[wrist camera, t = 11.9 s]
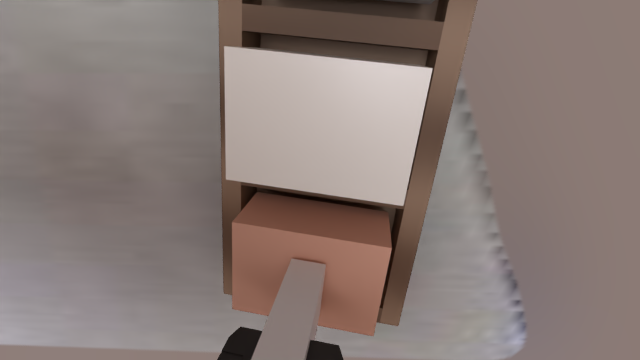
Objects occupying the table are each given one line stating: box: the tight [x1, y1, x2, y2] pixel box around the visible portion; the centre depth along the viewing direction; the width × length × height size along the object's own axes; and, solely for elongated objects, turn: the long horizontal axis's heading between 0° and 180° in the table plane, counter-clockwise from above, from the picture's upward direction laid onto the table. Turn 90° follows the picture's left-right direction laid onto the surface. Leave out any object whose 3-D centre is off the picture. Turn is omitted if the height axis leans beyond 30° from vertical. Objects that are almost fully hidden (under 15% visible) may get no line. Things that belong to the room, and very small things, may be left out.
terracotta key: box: [232, 192, 392, 336], centre depth 16 cm, size 5×7×3 cm
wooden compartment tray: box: [218, 0, 477, 326], centre depth 16 cm, size 22×10×3 cm, turn 174°
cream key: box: [224, 46, 433, 206], centre depth 13 cm, size 5×7×3 cm
